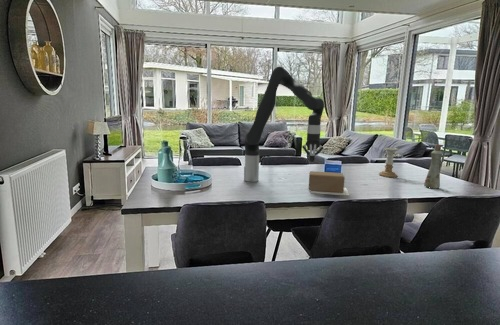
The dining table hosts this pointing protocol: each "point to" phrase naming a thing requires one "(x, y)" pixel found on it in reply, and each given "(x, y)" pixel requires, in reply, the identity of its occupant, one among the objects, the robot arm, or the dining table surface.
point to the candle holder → (389, 163)
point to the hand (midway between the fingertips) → (311, 161)
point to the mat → (332, 192)
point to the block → (326, 181)
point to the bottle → (434, 169)
